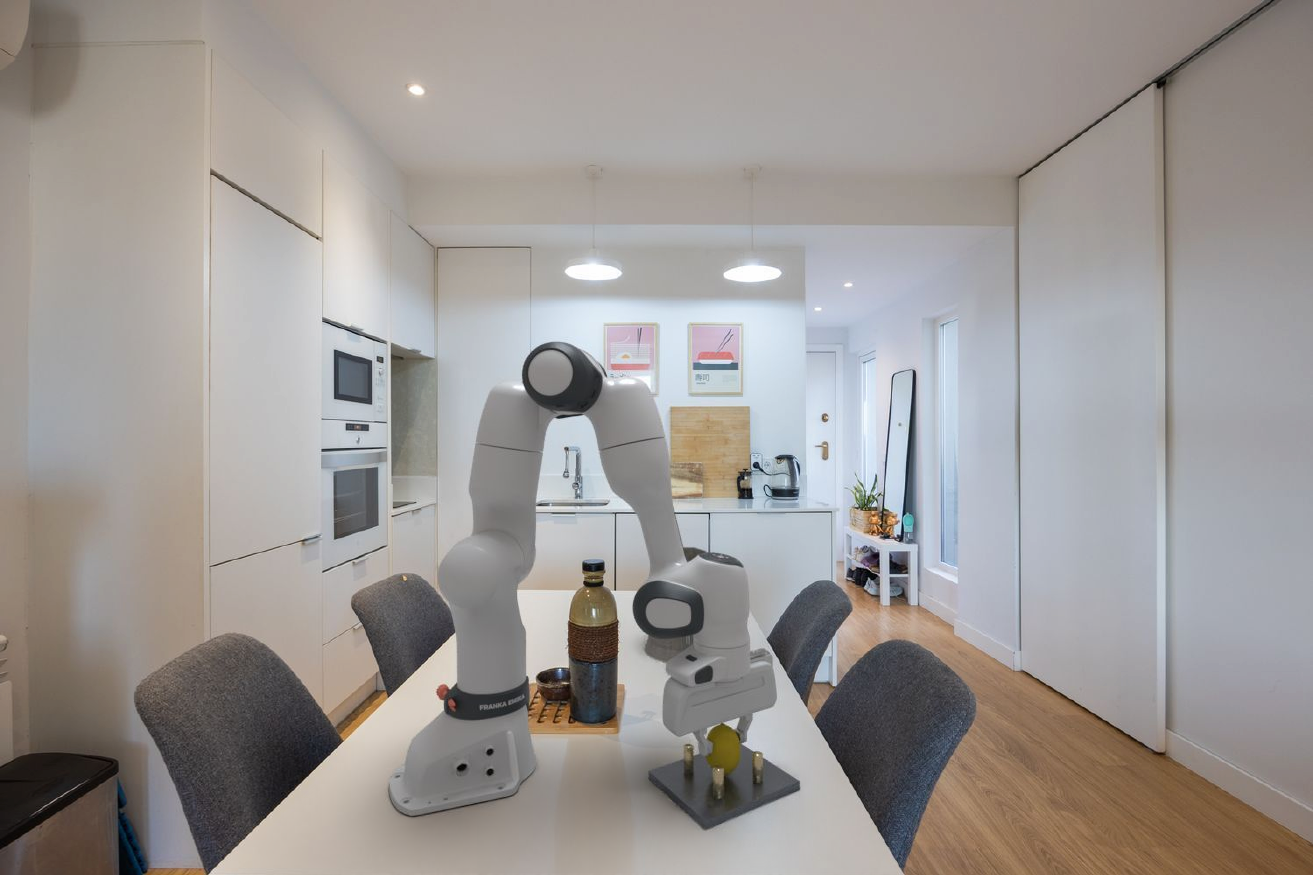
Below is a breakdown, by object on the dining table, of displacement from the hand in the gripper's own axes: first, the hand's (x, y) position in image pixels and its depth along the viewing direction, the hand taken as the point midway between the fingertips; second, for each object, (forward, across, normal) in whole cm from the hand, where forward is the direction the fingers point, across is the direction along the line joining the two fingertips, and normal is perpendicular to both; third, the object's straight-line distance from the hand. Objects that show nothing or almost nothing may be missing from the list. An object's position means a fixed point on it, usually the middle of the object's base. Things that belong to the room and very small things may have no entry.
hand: (722, 747), depth 92 cm
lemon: (+4, 0, 0) cm, 5 cm away
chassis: (+6, 0, 0) cm, 6 cm away
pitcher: (+6, -29, -51) cm, 59 cm away
